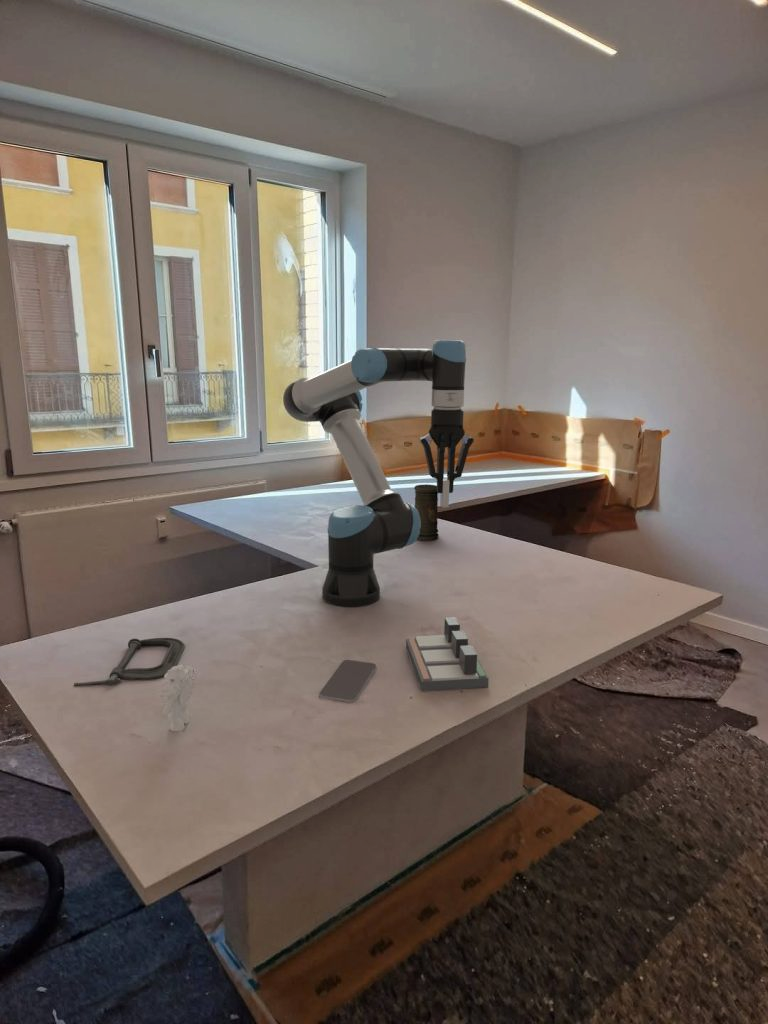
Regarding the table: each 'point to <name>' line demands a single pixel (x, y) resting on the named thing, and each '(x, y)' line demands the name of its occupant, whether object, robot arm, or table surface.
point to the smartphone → (348, 681)
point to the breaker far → (450, 627)
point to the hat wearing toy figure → (178, 695)
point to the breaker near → (468, 659)
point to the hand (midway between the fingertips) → (444, 505)
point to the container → (427, 510)
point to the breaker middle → (458, 642)
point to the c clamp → (144, 673)
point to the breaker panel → (441, 665)
